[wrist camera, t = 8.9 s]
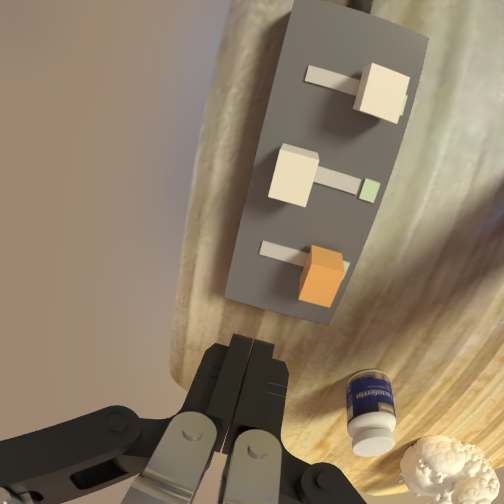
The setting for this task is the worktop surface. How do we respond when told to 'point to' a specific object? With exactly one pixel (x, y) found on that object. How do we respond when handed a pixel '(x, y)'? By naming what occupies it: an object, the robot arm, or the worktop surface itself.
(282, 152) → the switch
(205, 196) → the worktop surface
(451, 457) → the white plaster sculpture
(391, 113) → the switch
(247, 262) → the slider control box
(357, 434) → the pill bottle
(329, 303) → the switch
